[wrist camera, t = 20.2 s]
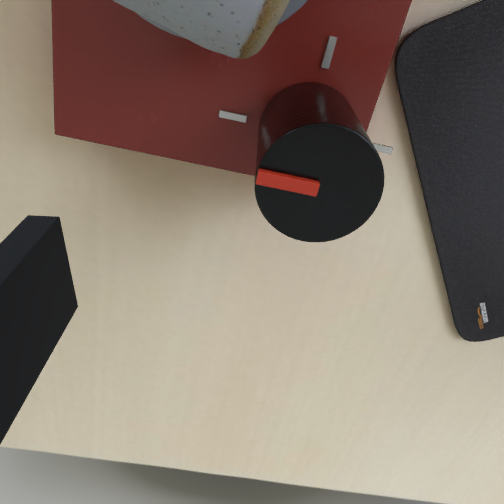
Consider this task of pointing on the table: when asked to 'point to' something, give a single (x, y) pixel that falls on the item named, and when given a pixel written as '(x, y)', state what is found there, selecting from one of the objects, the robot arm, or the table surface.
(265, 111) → the dial
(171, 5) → the ceramic mug
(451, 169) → the mouse pad
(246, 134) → the hotplate
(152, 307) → the table surface
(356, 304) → the table surface
